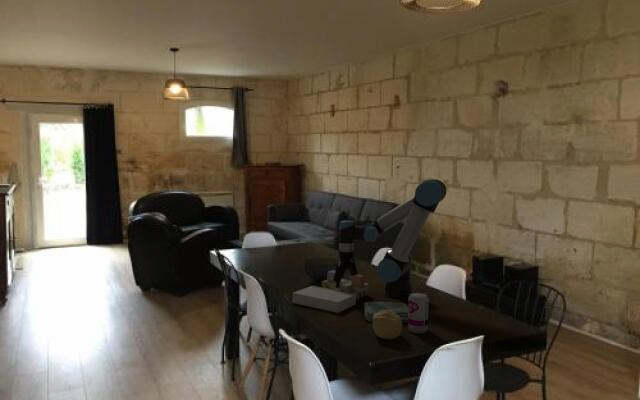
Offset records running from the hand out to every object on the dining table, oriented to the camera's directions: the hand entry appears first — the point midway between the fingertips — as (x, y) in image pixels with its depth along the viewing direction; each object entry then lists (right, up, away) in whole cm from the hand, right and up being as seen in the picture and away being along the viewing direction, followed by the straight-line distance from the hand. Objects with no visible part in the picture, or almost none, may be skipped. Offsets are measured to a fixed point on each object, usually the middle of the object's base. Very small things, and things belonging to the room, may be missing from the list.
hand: (345, 291), depth 266 cm
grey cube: (-6, +5, +4) cm, 9 cm away
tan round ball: (+14, -8, -60) cm, 62 cm away
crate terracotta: (+6, +4, -5) cm, 9 cm away
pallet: (0, -2, 0) cm, 2 cm away
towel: (+17, -6, -33) cm, 38 cm away
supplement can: (+27, -7, -52) cm, 59 cm away
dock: (-11, -3, -16) cm, 20 cm away
